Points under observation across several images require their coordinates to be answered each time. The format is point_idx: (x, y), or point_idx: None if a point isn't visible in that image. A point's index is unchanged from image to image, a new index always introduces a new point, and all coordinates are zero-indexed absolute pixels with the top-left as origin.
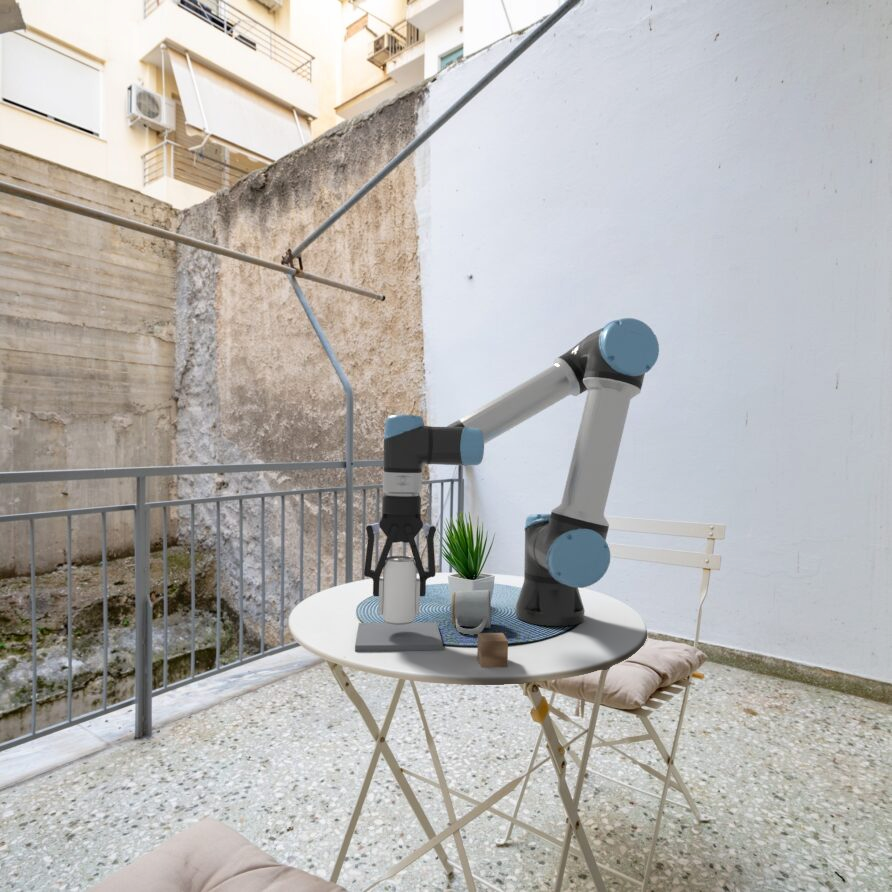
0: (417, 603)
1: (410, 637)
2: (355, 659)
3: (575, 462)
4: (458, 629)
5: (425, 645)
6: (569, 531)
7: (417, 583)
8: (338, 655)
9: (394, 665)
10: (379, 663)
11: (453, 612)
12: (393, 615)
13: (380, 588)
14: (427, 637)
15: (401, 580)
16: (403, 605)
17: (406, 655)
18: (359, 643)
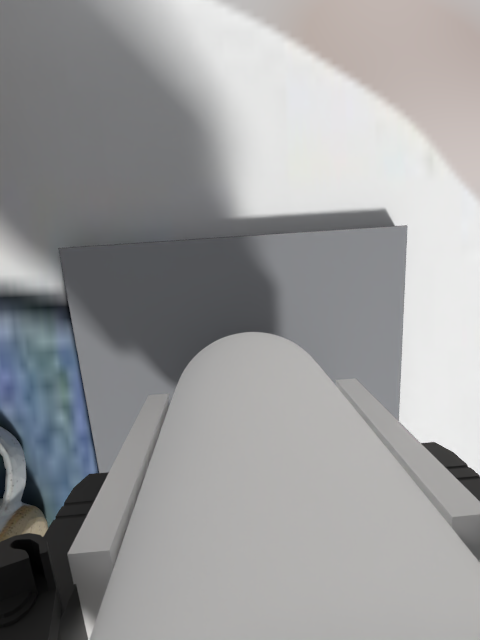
0: (145, 424)
1: (197, 331)
2: (392, 134)
3: None
4: (14, 445)
5: (131, 244)
6: None
7: (105, 530)
8: (452, 179)
9: (245, 65)
10: (303, 89)
11: (7, 530)
12: (280, 344)
13: (429, 465)
14: (129, 333)
15: (268, 461)
16: (230, 364)
17: (205, 184)
18: (390, 250)
